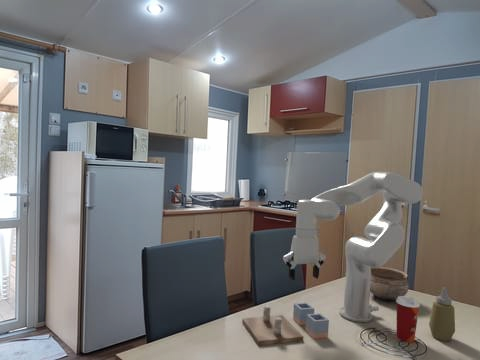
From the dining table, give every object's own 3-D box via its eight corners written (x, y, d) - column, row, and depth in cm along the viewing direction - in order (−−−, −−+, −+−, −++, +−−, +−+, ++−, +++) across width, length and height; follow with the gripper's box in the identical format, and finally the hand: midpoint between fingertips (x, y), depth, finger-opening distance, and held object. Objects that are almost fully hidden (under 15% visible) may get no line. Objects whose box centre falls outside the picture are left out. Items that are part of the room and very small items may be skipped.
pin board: (282, 318, 131) (283, 302, 131) (303, 340, 115) (304, 321, 115) (242, 322, 127) (243, 304, 126) (258, 345, 110) (259, 325, 110)
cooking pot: (351, 289, 170) (352, 265, 169) (382, 287, 175) (384, 264, 175) (387, 310, 146) (389, 281, 145) (422, 307, 152) (424, 279, 151)
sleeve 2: (319, 329, 124) (320, 313, 124) (327, 337, 119) (328, 320, 119) (305, 331, 122) (306, 314, 122) (313, 338, 117) (314, 321, 117)
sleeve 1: (306, 317, 134) (307, 302, 133) (313, 324, 128) (314, 308, 128) (293, 318, 132) (293, 303, 132) (299, 325, 127) (300, 309, 126)
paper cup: (420, 345, 116) (423, 304, 116) (396, 342, 118) (399, 301, 117) (413, 335, 124) (416, 296, 124) (391, 331, 126) (393, 294, 125)
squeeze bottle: (454, 345, 118) (458, 293, 117) (427, 338, 122) (431, 288, 121) (454, 336, 125) (458, 287, 124) (429, 330, 129) (432, 282, 128)
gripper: (321, 230, 135) (319, 274, 135) (280, 231, 130) (278, 276, 131) (331, 234, 128) (329, 280, 128) (288, 235, 123) (286, 282, 123)
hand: (303, 278), depth 129 cm, fingers open, 9 cm apart
